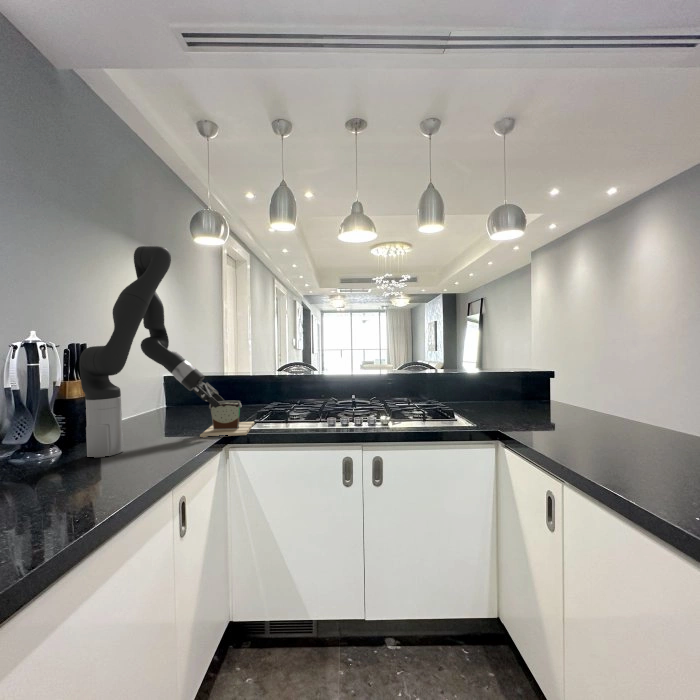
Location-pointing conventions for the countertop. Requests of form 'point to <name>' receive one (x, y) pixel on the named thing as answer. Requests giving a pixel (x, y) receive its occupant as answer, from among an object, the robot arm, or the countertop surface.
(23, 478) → the countertop surface
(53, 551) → the countertop surface
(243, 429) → the birch board
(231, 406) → the food container
